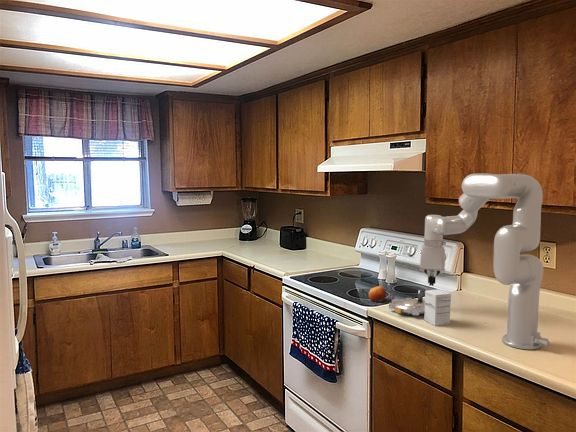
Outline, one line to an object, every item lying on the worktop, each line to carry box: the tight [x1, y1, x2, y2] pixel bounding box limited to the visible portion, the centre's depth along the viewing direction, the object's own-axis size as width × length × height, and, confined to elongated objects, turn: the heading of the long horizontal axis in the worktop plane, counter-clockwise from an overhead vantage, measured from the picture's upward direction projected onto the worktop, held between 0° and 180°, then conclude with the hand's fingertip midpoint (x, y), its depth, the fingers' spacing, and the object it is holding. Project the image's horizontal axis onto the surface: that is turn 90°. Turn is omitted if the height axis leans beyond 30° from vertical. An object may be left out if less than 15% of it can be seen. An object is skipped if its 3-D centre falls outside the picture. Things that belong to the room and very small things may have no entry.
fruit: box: [368, 285, 387, 303], centre depth 218 cm, size 8×8×8 cm
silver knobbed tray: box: [388, 289, 425, 316], centre depth 200 cm, size 19×19×7 cm
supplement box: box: [423, 288, 452, 327], centre depth 186 cm, size 7×7×13 cm
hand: (431, 284), depth 202 cm, fingers closed
